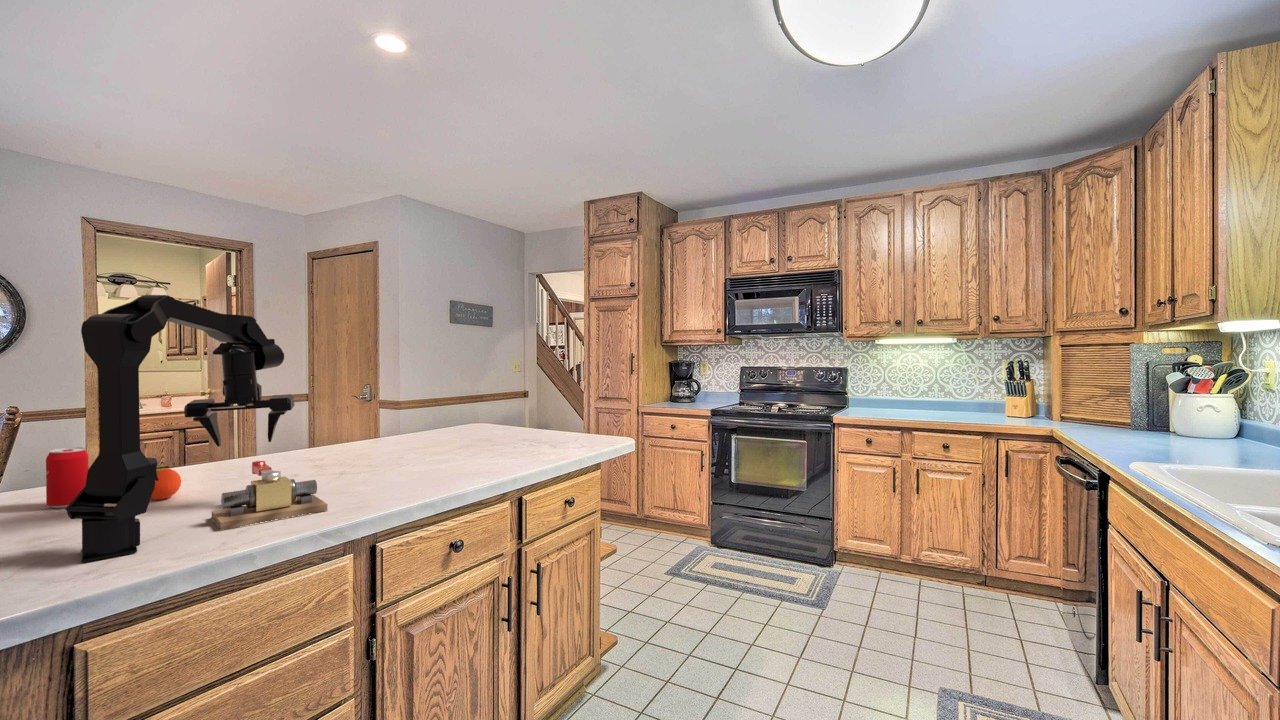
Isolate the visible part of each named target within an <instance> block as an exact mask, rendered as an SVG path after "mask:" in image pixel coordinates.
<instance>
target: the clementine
mask: <svg viewBox="0 0 1280 720" xmlns="http://www.w3.org/2000/svg"><path fill="white" fill-rule="evenodd" d="M156 473H157V477H158V479H159V480H158V481H155V488H154V491H153V493H152V495H151V498H150V500H155V501H159V500H160V499H161V500H166V499H167V498H170V497H172V496H174V495H175V494H176V493H177V492H178V491H179V490H180V488H181V485H182V478H181V475H180V474H179V472H177V471H176V470H174V469H172V468H169V467H167V468H166V467H164V468H163V467H160V468H157V469H156ZM165 498H166V499H165Z"/></svg>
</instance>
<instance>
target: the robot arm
mask: <svg viewBox="0 0 1280 720" xmlns="http://www.w3.org/2000/svg"><path fill="white" fill-rule="evenodd" d="M167 322H170V323H174V324H176V325H182V326H185V327H188V328H192V329H196V330H199V331H203V332H204V333H206V334H207V335H208V337H210V338H212V339H214V340H216V341H218V342H221V343H220V344H219V346H218V347H216V348H215V349H214V350H213V351H212V355H215V356H216V355H219V356H220V355H221V363H222V364H221V365H222V375H223V376H222V378H223V380H222V385H223V386H222V395H223V396H224V401H221V402H219V401H218V402H215V399H214V398H207V399H206V398H203V399H193V400H191V401H190V402H188V403H187V404H186V405H184V408H183V411H184V418H192V420H193V422H197V421H198V422H199V423H200V425H201V426H202V427H203V428H204V429H205V430H206V432H207V433H208V434H209V436H210V437H211V438H212V440H213V442H214V443H215V445H216V447H221V445H222V439H221V434H220V427H219V424H218V412H221V411H236V410H237V411H239V410H253V409H270V411H269V412H268V413H267V414H268V416H267V440H268V443H271V442H272V440H273V437H274V434H275V431H276V427H277V424H278V421H279V419H280V417H281V416H284V415H285V414H286V413H287V412H288V411H292V410H293V408H294V407H295V397H294V395H292V394H275V395H272V396H271V397H270V398H269V399H268V398H267V399H262V396H263V395H262V394H263V393H262V389H263V387H262V385H261V384H260V383H258V379H257V371H263V370H267V369H272V368H278V367H279V366H280V365H283V362H284V360H285V352H283V350H282V347H280V345H277V344H276V342H275V338H268V337H267V335H266V334H265V333H264V331H263V330H262V328H261V326H260V325H259V324H258V322H257V319H256V318H255V317H254V316H251V315H242V314H232V313H230V314H229V313H220V312H218V311H213V310H211V309H207V308H205V307H201V306H198V305H195V304H192V303H189V302H185V301H182V300H179V299H177V298H174V296H173V297H172V296H170V295H167V294H143V295H141V296H139V297H137V298H135V299H133V300H132V301H130V302H127V303H125V304H121V305H118V306H115V307H113V308H110V309H107V310H106V311H104V312H102V313H97V314H93V315H91V316H89V317H88V318H87V319H86V320H84V321H83V322H82V324H81V329H80V333H81V339H82V342H83V347H84V351H85V352H86V354H87V355H88V357H89V358H90V359H91V361H92V362H93V363H94V364H95V365H96V368H97V389H98V392H97V393H98V397H97V398H98V399H97V400H98V425H99V426H98V431H99V432H98V435H99V436H98V439H99V452H98V455H97V456H96V458H95V459H94V461H93V462H92V464H91V465H90V467H88V472H87V479H86V485H85V487H84V488H83V489H82V490H81V492H80V493H79V494H78V495H77V496H76V497H75V499H74V500H73V501H72V502H71V503H70V504H69V505H68V507H67V508H65V512H66V513H67V516H68V518H69V520H76V519H77V520H81V549H80V562H81V563H87V562H92V561H93V562H94V561H98V560H103V559H108V558H113V557H114V558H115V557H119V556H124V555H125V556H126V555H130V554H134V553H137V552H138V547H139V546H141V521H140V519H139V518H138V517H136V516H138V515H139V516H140V515H143V514H145V513H146V512H147V510H148V507H149V504H150V501H151V499H150V498H151V495H152V493H153V491H154V488H155V481H158V480H159V479H158V477H157V473H156V469H158V467H157V466H158V461H157V458H156V457H146V455H145V454H144V453H143V452H142V450H141V439H140V438H141V430H140V429H141V428H140V424H141V423H140V421H141V420H140V377H139V375H140V374H139V372H140V371H139V370H140V366H141V364H142V363H143V361H144V360H145V358H146V357H147V356H148V354H150V352H151V344H152V338H153V337H154V336H155V335H157V334H158V333H160V332H161V331H163V330H164V329H165V327H166V325H167ZM107 505H108V506H107ZM110 505H111V506H110ZM113 505H114V506H113Z"/></svg>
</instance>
